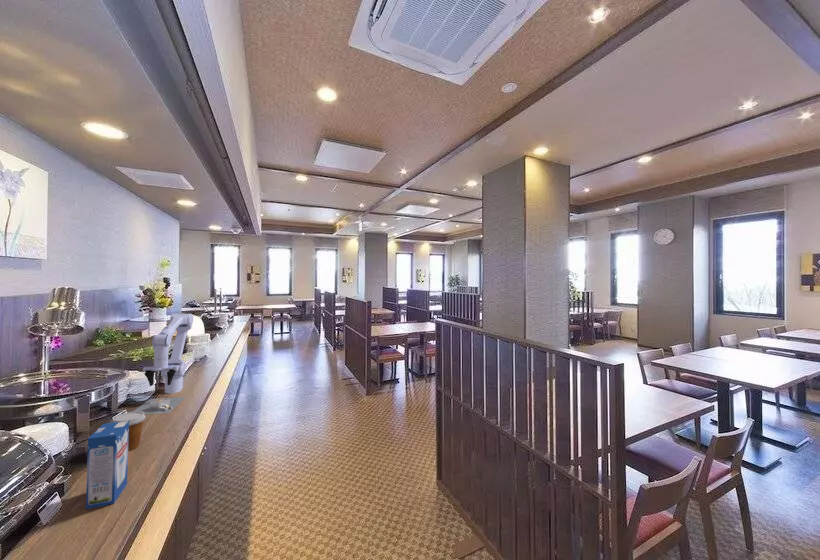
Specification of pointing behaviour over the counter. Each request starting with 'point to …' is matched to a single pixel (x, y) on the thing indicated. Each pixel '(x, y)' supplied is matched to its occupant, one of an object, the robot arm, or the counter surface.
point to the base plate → (147, 410)
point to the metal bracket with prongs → (161, 404)
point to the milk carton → (107, 464)
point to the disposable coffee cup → (132, 427)
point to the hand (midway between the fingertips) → (160, 385)
